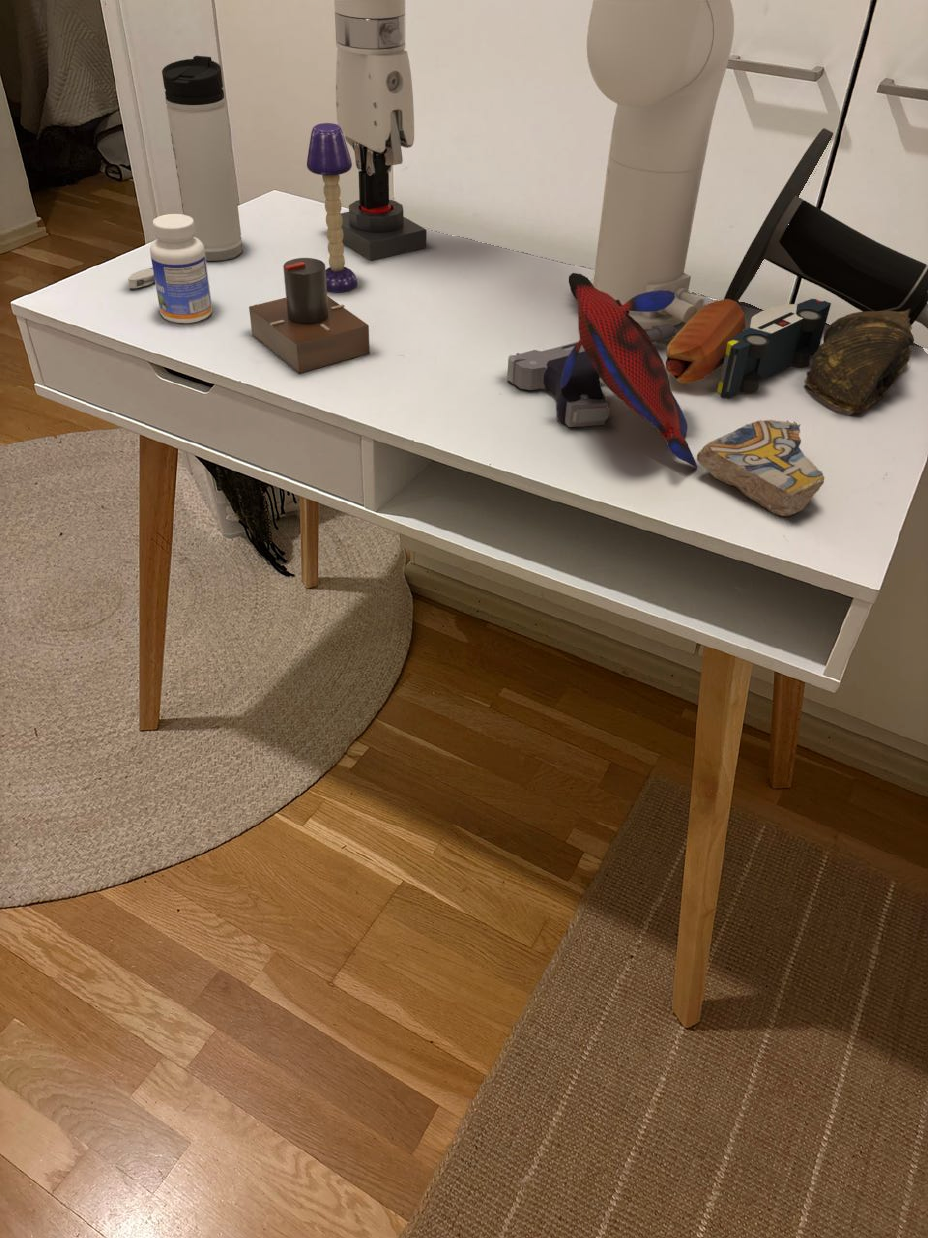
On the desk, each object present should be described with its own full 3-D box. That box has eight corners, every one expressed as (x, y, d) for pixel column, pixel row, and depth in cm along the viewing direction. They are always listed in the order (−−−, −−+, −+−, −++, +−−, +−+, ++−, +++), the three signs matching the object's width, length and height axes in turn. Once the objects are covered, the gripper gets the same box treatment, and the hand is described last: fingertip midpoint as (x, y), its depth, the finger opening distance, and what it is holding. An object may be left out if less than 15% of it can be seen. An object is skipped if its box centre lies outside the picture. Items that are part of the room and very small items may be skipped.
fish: (606, 205, 81) (681, 270, 93) (494, 303, 87) (577, 353, 99) (715, 395, 74) (780, 439, 87) (585, 487, 80) (662, 516, 93)
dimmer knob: (315, 303, 101) (312, 251, 98) (335, 317, 99) (332, 265, 95) (280, 312, 99) (275, 259, 96) (300, 327, 97) (295, 273, 93)
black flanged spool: (715, 323, 115) (910, 430, 112) (731, 273, 96) (965, 400, 93) (806, 174, 113) (1007, 279, 110) (840, 92, 94) (1084, 216, 91)
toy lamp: (354, 295, 110) (347, 133, 99) (312, 293, 110) (301, 131, 99) (359, 277, 114) (352, 119, 103) (318, 276, 114) (307, 117, 103)
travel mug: (252, 243, 120) (231, 57, 107) (230, 264, 115) (205, 72, 102) (203, 237, 121) (177, 52, 108) (180, 258, 116) (149, 66, 103)
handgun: (744, 360, 95) (663, 312, 103) (578, 410, 87) (503, 354, 95) (738, 384, 97) (659, 335, 105) (575, 435, 89) (501, 378, 97)
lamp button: (396, 222, 120) (396, 207, 119) (371, 227, 119) (371, 213, 118) (381, 213, 122) (380, 198, 121) (355, 218, 121) (355, 203, 120)
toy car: (735, 403, 94) (693, 383, 97) (829, 354, 103) (788, 337, 105) (746, 353, 91) (702, 334, 94) (842, 307, 99) (799, 291, 102)
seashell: (886, 423, 92) (897, 350, 88) (788, 409, 96) (795, 340, 92) (927, 356, 102) (938, 288, 98) (838, 346, 107) (845, 281, 103)
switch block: (426, 247, 121) (426, 213, 118) (370, 260, 117) (369, 226, 115) (382, 221, 127) (381, 189, 124) (328, 233, 123) (326, 200, 121)
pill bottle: (161, 303, 107) (144, 211, 100) (212, 301, 108) (199, 209, 101) (160, 326, 103) (143, 231, 96) (213, 322, 104) (200, 228, 97)
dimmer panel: (370, 352, 100) (369, 323, 98) (298, 373, 96) (295, 343, 94) (321, 316, 106) (319, 287, 104) (250, 334, 102) (247, 304, 100)
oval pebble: (159, 271, 114) (158, 261, 113) (176, 275, 113) (175, 265, 112) (121, 286, 109) (120, 275, 109) (138, 290, 109) (137, 280, 108)
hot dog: (720, 384, 93) (673, 398, 96) (760, 330, 102) (715, 345, 105) (700, 335, 91) (653, 352, 94) (743, 285, 100) (698, 301, 103)
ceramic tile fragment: (853, 486, 78) (733, 492, 77) (841, 521, 80) (724, 527, 79) (792, 412, 87) (683, 416, 86) (782, 445, 89) (676, 449, 88)
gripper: (438, 42, 105) (435, 219, 117) (363, 14, 113) (368, 182, 126) (378, 50, 101) (381, 231, 113) (305, 20, 110) (316, 192, 122)
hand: (374, 205), depth 119 cm, fingers closed
